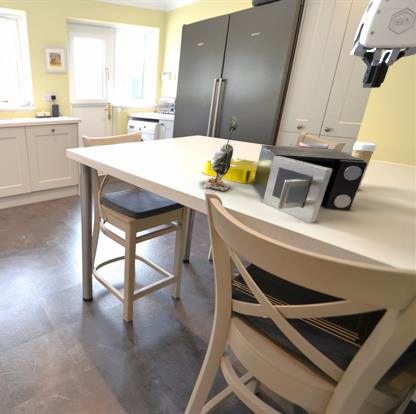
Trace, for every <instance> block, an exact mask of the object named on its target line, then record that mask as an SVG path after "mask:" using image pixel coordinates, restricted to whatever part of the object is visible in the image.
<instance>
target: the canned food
mask: <svg viewBox="0 0 416 414" xmlns="http://www.w3.org/2000/svg"><path fill="white" fill-rule="evenodd" d="M298 147H304V148H322V149H329V147H330V146H329V144H327V143H323V142H317V141H301V142H299V145H298Z"/></svg>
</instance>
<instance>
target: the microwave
mask: <svg viewBox="0 0 416 414" xmlns="http://www.w3.org/2000/svg"><path fill="white" fill-rule="evenodd" d="M351 155H352V154H348V153H346V152H344V151H341V150H338V149H335V148H328V149H322V148H304V147H299V146H287V145H285V146H284V145H268V144H267V145H266V144H261V147H260V151H259V157H258V161H257V162H258V165H257V169H256V174H255V178H254V181H252V186H253V187H254V188H255V189H256V191H257V192H258V194H259V195H260V196H261V198H262V199H263V200H264V196H265V192H266V188H267V184H268V179H269V175H270V171H271V167H272V163H273V159H274V156H282V157H286V158H290V159H294V160H298V161H302V162H306V163H310V164H314V165H318V166H322V167H327V168H331V169H332V172H331V175H330V178H329V181H328V184H327V187H326V190H325V193H324V196H323V199H322V202H321V206H320V207H323V208H324V209H329V210H338V211H348V212H349V211H351V208H352V205H353V202H354V200H355V198H356V194H357V193H358V191H359V190H358V187H359V184H360V182H361V179H362V176H363V174H364V171H365V168H366V166H367V162H364V160H362V159H359V158H357V157H354V156H351ZM361 183H362V182H361ZM357 190H358V191H357Z"/></svg>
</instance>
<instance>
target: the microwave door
mask: <svg viewBox="0 0 416 414" xmlns="http://www.w3.org/2000/svg"><path fill="white" fill-rule="evenodd" d="M331 172H332V169H331V168H327V167H322V166H318V165H314V164H310V163H306V162H302V161H298V160H294V159H290V158H286V157H282V156H274V159H273V163H272V167H271V171H270V175H269V179H268V184H267V188H266V192H265V196H264V199H263V200H262V203H265V204H267V205H269V206H271V207H274V208H276V209H278V210H280V211H283V212H285V213H287V214H288V215H292V216H294V217H296V218H298V219H300V220H303V221H305V222H307V223H315V222H316V221H317V218H318V215H319V211H320V209H321V207H322V206H321V202H322V199H323V196H324V193H325V190H326V187H327V184H328V181H329V178H330V175H331Z"/></svg>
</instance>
